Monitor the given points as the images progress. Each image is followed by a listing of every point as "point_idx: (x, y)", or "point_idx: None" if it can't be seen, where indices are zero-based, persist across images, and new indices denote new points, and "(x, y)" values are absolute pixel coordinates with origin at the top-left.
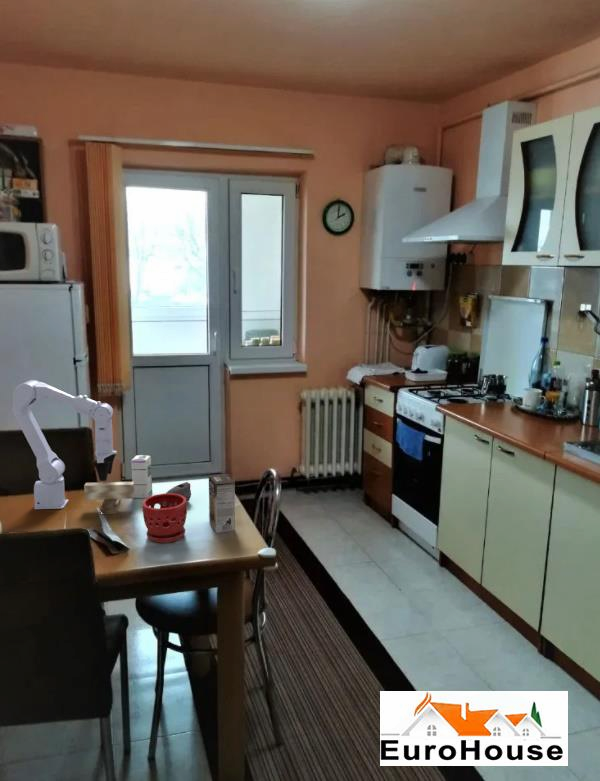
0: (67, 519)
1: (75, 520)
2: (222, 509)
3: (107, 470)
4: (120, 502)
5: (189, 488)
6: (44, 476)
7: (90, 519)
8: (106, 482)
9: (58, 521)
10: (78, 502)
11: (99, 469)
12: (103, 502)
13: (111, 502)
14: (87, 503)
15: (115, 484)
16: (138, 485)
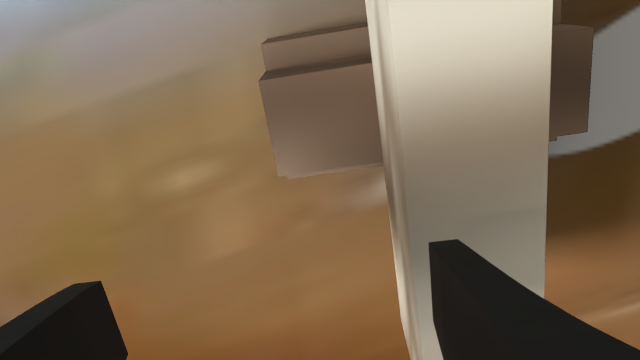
0: (606, 307)
1: (635, 254)
2: None
3: (569, 334)
4: (271, 39)
5: None
6: None
7: (634, 161)
8: (417, 223)
9: (634, 343)
10: (281, 349)
11: None
12: (576, 125)
13: (588, 38)
14: (294, 291)
15: (526, 50)
16: None
